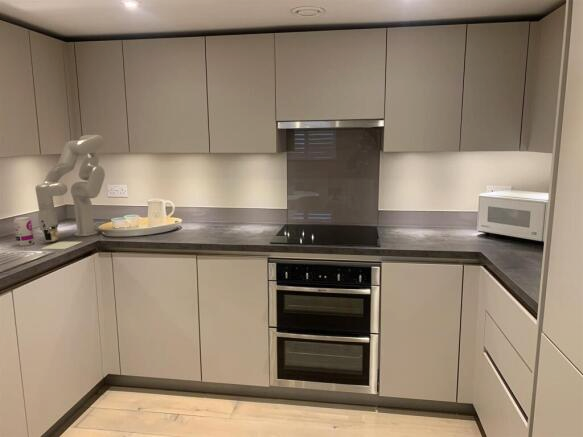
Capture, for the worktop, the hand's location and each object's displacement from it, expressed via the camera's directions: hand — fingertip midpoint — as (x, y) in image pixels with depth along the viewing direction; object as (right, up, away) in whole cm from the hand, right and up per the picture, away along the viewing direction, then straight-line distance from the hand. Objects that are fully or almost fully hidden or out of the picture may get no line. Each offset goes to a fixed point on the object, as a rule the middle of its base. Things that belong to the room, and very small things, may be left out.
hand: (51, 238), depth 250 cm
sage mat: (+10, -3, -8) cm, 13 cm away
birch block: (0, -1, 0) cm, 1 cm away
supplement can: (-13, -3, -3) cm, 14 cm away
